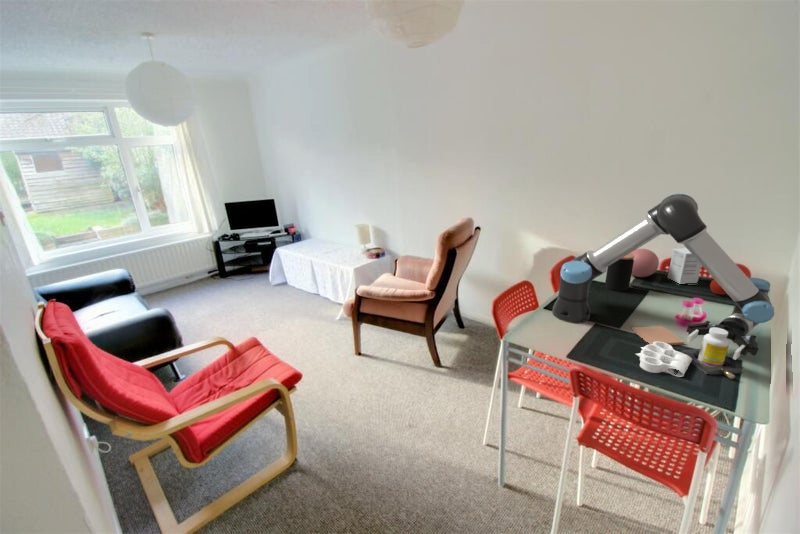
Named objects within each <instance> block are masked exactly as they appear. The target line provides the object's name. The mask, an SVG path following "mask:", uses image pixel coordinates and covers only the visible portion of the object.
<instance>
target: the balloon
mask: <svg viewBox="0 0 800 534" xmlns="http://www.w3.org/2000/svg"><path fill="white" fill-rule="evenodd" d="M631 253H632V254H634V255H635V257H634V258H633V260H634V264H633V269H632V275H631V276H634V277H637V278H646V277H649V276H652V275H653V274H655V273H656V272H657V270H658V268H659V265H660V260H659V257H658V256H657V254H656V253H655V252H653V251H652V250H650V249H647V248H637V249H636V250H634V251H632V252H631Z"/></svg>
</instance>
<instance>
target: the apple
mask: <svg viewBox="0 0 800 534" xmlns="http://www.w3.org/2000/svg"><path fill="white" fill-rule="evenodd" d="M709 288H710V291H711V292H712V293H713V292H714V293H717V294H726V295H728V294H727V293H726V292H725V290H724V289H723V288H722V287H721V286H720V285H719V284H718V283H717V281H716V280H715V279H713V280H711V282H710V284H709ZM714 293H713V294H714Z"/></svg>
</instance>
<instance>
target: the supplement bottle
mask: <svg viewBox="0 0 800 534" xmlns="http://www.w3.org/2000/svg"><path fill="white" fill-rule="evenodd" d="M727 336H728V332H727V331H726V330H724V329H721V328H717V327H712V328H710V330H709V334H706V335H703V338H702V342H701V345H700V348H699V349H700V352H699V356H697V359H698V360H700V361H701V362H702V363H704V364H705V365H706V366H708V367H723V366H724V365H725V364H724V360H725V357H727V353H728V349H729V346H730V341H729V340H730V339H728V338H726V337H727Z"/></svg>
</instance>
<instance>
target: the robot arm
mask: <svg viewBox="0 0 800 534" xmlns="http://www.w3.org/2000/svg"><path fill="white" fill-rule="evenodd" d="M698 205H699V204H698V203H697V201H696V200H695V199H694V198H693V197H692V196H690V195H688V194H686V193H685V194H684V193H675V194H669V195H668V196H666V197H665V198H664V199H663V200H662V201H660V203H658V204H657V205H655V206H654V207H652V208H650V209H649V210H648V211H646V216H645V218H643V219H641V220H640V221H637V223H635V224H634V225H632V226H631V227H628V229H627V228H626V230H625V231H623V232H622V233H620V234H618V235H617V236H615V237H614V238H612V239H610V241H607V242H606V243H605V244H603V245H601V246H600V247H598V248H597V249H595V250H588V251H586V252H584V253H583V254H581V255H579V256H576V257H575V258H574V259H573V260H570V261H567V262H565V263H563V264H562V266H561V269H560V272H559V273H560V274H559V275H560V277H559V286H558V297H557V298H556V301H555V302H554V304H553V306H552V312H551V313H552V315H553V316H554V317H555V318H556V319H558V320H561V321H564V322H569V323H585V322H587V321H589V320H590V319H591V318H590V317H591V309H590V305H589V302H588V301H589V299H588V298H589V292H590V286H591V283H593V280H595V279H597V278H598V277H600V276H601V275H603V274H604V273H607V268H608V266H609V265H611V264H613V263H614V262H616V261H618V260H619V259H621V258H623V257H624V256H626V255H628V254H629V253H631V252H632V251H634V250H636V249H640V248H641V247H642V246H644V245H646V244H647V243H649V242H650V241H652V240H654V239H655V238H657V237H658V236H661V235H670V236H671V237H672V238H673V239H674V241H675V242H676V243H677V244H681V245H683V246H684V248H687V249H688V250H689V251H690V252H691V253H692V255H693V256H694V257H695V258H696V259H697V260H698V261H699V262H700V264H701V265H702V266H701V267H703V268H704V269H705V270H706V271H707V272H708V274H709V275H710V276H711V277H712V279H713V280H716V281H717V283H718V284H719V285H720V286H721V287H722V288H723V289H724V290H725V292H726V293H727V294H726V295H728V296H729V297H730V298H731V299H732V301H733V302H734V306H733V310H732V313H731V314H729V315H728V316H727V317H725V318H724V319H723V320H721V321H720V322H719V324H712V323H711V321H709V320H707V321H705V322H700V323H692V324H688V325H687V329H686V330H685V331H686V333H688V334H687V339H686V343H688V344H690V343H691V342H693V341H694V340H695V339H697V338H698V336H705V335H706V334H709V330H710V328H712V327H717V328H721V329H724V330H726V331H727V332H728V336H727V337H726V338H727V339H728V340H731V341H732V342H733V344H736V345H737V346H738V348H737V349H736V350H735V351H734V352H733V353H734V354H733V356H732V360H735V361H736V360H737V359H738V358H739V357H740V356H744V357H745V356H747V354H751V355H753V356H758V352H759V349H760V348H759V345H758V342H757V340H756V339H757V336H756V335H754V334H752V335H747V334H749V333H750V332H751V331H752V330H753V329H754V328H755V327H757V326H758V325H759V324H764V323H767V322H769V321H771V320H772V319H773V318H774V316H775V307H774V306H773V304H772V302H771V299H770V297H769V292H770V288H771V282H770V281H768V280H766V279H763V278H758V277H749V276H747V275H746V274H745V272H744V271H743V270H742V269H741V268H740V267H739V266H738V265H737V264H736V263H735V262H734V261H733V259H732V258H731V257H730V256H729V255H728V254H727V252H726V251H725V250H724V249H723V248H722V246H720V244H719V243H718V242H716V240H715V239H714V238H713V237H712V236H711V234H710V233H708V231H707V229H708V226H707V225H706V224H705V223H704V222H703V220H702V218H701V217H700V215H699V212H698V210H699V206H698Z"/></svg>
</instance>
